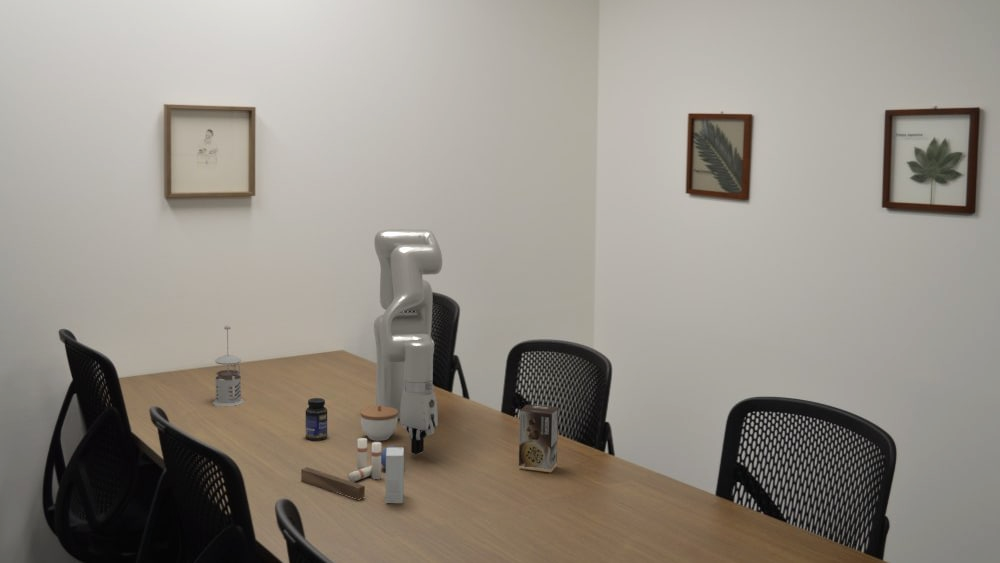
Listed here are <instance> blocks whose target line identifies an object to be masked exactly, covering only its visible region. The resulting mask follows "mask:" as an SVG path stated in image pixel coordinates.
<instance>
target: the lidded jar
mask: <svg viewBox="0 0 1000 563" xmlns="http://www.w3.org/2000/svg"><path fill="white" fill-rule="evenodd" d="M359 413H360V414H359V415H360V426H361V429H362V431H363V433H364V434H365V436H367V437H368V439H369V440H370V441H371V440H372V441H375V442H381V441H387V440H389V439H390V437H391V436H392V435H394V433H395V431H396V430H397V427H398V420H399V419H398V410H397V409H395V408H392V407H386V406H381V405H378V406H376V405H375V406H373V405H372V406H368V407H365V408H363V409H361V410H360V412H359Z"/></svg>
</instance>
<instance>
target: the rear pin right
mask: <svg viewBox="0 0 1000 563" xmlns="http://www.w3.org/2000/svg"><path fill="white" fill-rule="evenodd" d="M356 449H357V451H356V452H357V453H356V454H357V462H356V463H357V464H356V465H357V467H356V468H357V470H359V469H362V468H365V467H368V439H367V438H366V437H359V438H357V448H356Z"/></svg>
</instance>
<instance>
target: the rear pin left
mask: <svg viewBox="0 0 1000 563" xmlns="http://www.w3.org/2000/svg"><path fill="white" fill-rule="evenodd" d="M382 451H383V450H382V442H381V441H373V442H372V443H371V451H370V452H371V453H370V454H371V455H370V456H371V465H372V475H371V479H372V478H373V479H372V480H375V479H377V480H380V479H379V478H381V479H382V464H381V453H382Z"/></svg>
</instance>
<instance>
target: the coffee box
mask: <svg viewBox="0 0 1000 563" xmlns="http://www.w3.org/2000/svg"><path fill="white" fill-rule="evenodd" d="M518 427H519V430H518V431H519V433H518V434H519V435H518V436H519V438H518V440H519V442H518V467H519V466H524V467H534V468H544V469H552V468H553V467H554V465H555V464H556V463H557V464H558V441H559V440H558V438H559V437H558V435H559V434H558V433H559V407H554V406H545V405H536V404H525V405H524V406H523V407H522V408H521V409H520V410H519V426H518Z"/></svg>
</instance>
